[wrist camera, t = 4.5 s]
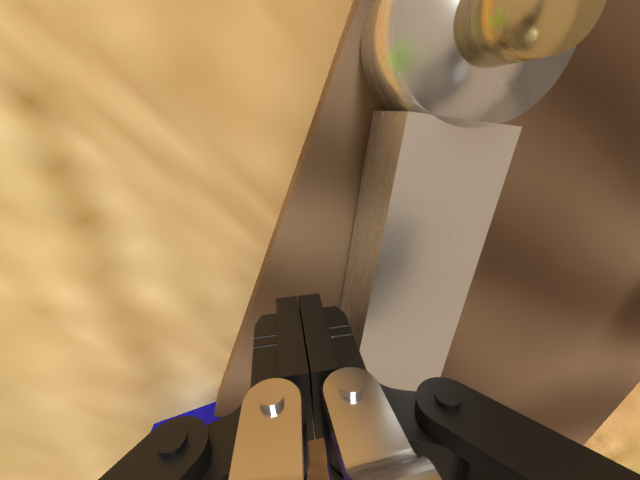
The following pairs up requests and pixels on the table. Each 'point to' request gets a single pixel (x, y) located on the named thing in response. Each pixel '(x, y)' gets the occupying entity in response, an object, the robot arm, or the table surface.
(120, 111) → the table surface
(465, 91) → the link
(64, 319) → the table surface
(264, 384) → the robot arm
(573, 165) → the board
